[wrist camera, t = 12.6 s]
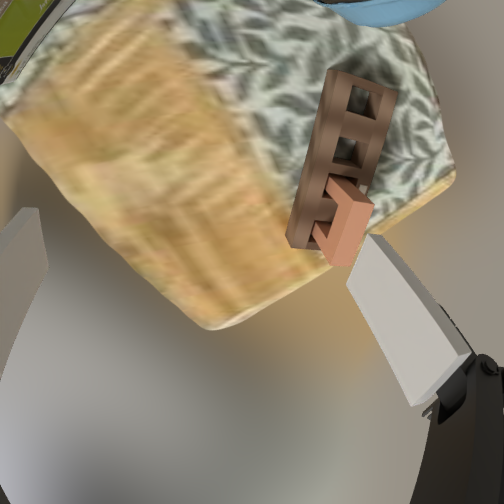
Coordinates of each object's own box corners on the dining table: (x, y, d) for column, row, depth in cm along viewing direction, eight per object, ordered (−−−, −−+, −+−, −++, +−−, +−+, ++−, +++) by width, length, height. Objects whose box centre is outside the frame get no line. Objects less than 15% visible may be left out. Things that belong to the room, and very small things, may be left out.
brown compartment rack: (327, 69, 33) (339, 70, 30) (384, 88, 35) (399, 92, 32) (285, 235, 46) (291, 248, 43) (337, 239, 48) (346, 252, 45)
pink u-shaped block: (322, 170, 41) (353, 201, 33) (341, 173, 42) (374, 204, 34) (306, 225, 46) (330, 265, 38) (324, 227, 47) (350, 266, 38)
